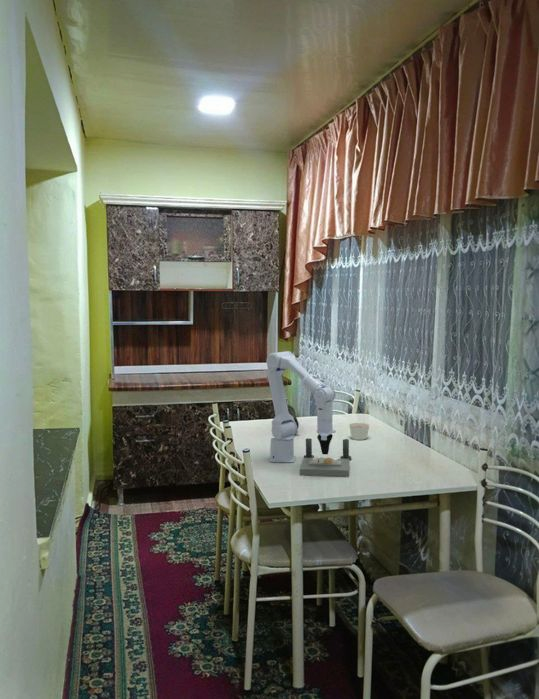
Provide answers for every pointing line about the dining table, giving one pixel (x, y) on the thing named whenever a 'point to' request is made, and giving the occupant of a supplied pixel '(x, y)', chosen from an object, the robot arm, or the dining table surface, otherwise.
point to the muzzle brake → (293, 414)
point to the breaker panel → (325, 467)
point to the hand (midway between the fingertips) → (325, 453)
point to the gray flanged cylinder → (308, 448)
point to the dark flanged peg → (345, 450)
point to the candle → (359, 430)
